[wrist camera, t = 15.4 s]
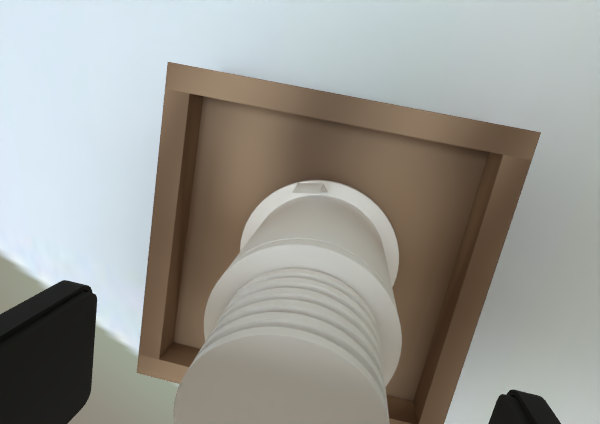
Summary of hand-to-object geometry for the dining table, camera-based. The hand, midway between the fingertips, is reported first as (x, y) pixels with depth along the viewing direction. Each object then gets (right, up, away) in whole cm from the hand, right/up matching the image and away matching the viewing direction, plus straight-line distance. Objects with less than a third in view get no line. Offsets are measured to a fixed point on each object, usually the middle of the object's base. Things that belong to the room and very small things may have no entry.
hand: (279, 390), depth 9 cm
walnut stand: (+2, +3, +13) cm, 13 cm away
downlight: (+1, +2, +9) cm, 9 cm away
